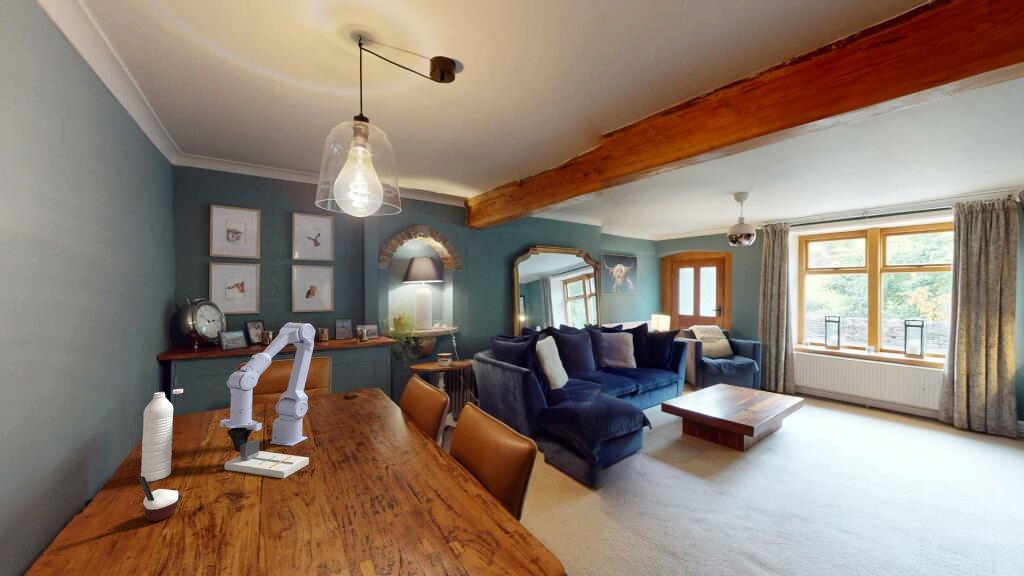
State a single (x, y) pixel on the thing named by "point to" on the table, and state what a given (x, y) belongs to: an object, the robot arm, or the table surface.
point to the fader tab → (249, 450)
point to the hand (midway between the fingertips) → (239, 450)
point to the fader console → (268, 464)
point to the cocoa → (159, 502)
